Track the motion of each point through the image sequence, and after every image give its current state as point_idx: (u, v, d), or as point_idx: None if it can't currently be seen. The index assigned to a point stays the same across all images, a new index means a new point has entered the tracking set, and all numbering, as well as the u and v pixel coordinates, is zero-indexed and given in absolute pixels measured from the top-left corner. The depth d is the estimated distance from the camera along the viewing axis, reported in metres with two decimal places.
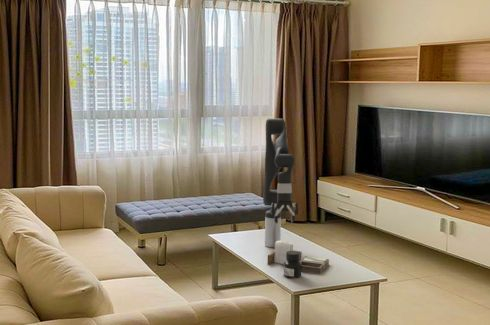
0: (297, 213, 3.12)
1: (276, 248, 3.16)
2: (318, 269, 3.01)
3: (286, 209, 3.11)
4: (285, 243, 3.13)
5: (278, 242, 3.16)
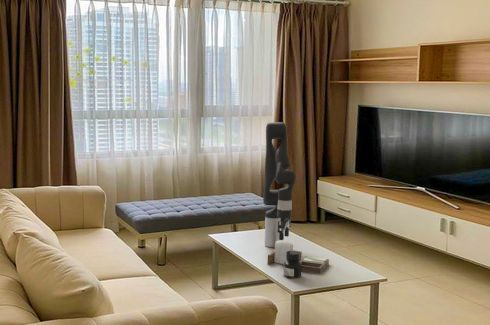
0: (290, 226, 3.20)
1: (276, 248, 3.16)
2: (318, 269, 3.01)
3: (286, 224, 3.14)
4: (285, 243, 3.13)
5: (278, 242, 3.16)
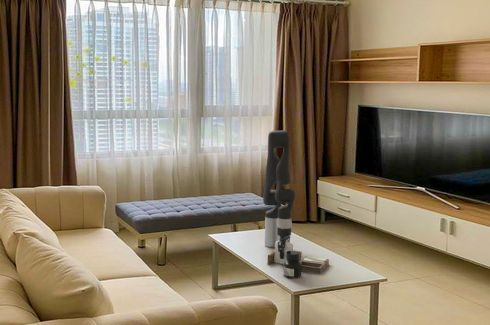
0: None
1: (276, 248, 3.16)
2: (318, 269, 3.01)
3: (286, 242, 3.15)
4: None
5: None
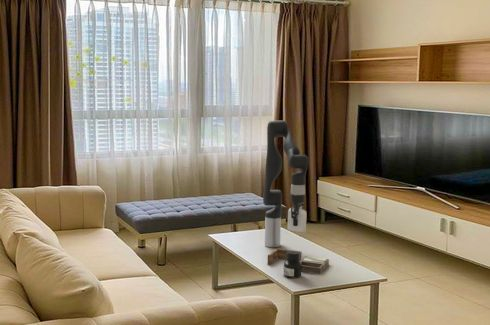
0: None
1: (289, 215, 3.12)
2: (318, 269, 3.01)
3: None
4: None
5: None
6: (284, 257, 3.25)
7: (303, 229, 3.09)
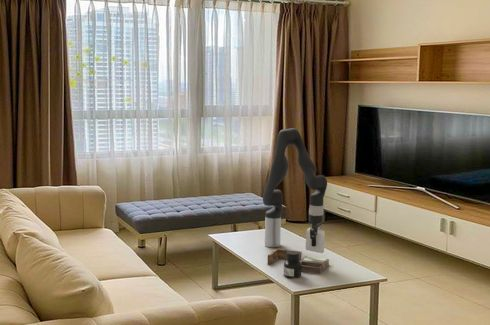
0: None
1: (308, 235, 3.13)
2: (318, 269, 3.01)
3: None
4: None
5: None
6: (284, 257, 3.25)
7: (322, 249, 3.10)
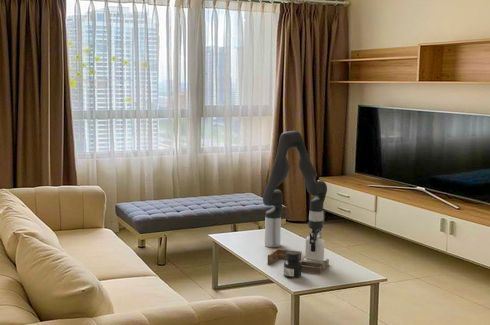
0: None
1: (307, 244, 3.13)
2: (318, 269, 3.01)
3: (317, 235, 3.13)
4: (317, 239, 3.10)
5: (309, 238, 3.13)
6: (284, 257, 3.25)
7: (321, 258, 3.10)
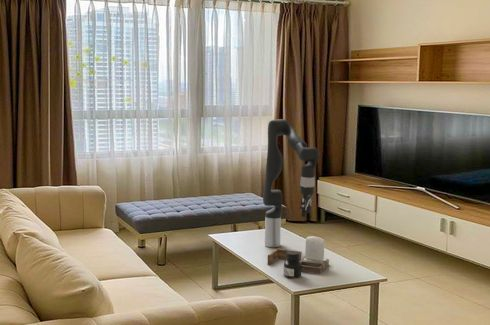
0: None
1: (307, 244, 3.13)
2: (318, 269, 3.01)
3: (308, 201, 3.16)
4: (317, 239, 3.10)
5: (309, 238, 3.13)
6: (284, 257, 3.25)
7: (321, 258, 3.10)
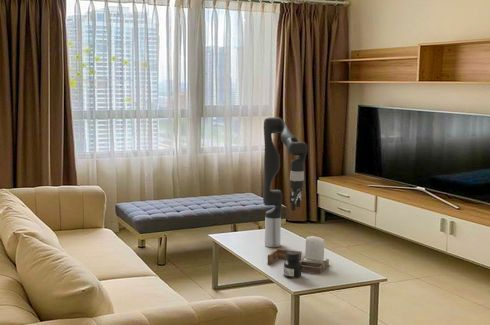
0: None
1: (307, 244, 3.13)
2: (318, 269, 3.01)
3: (298, 195, 3.20)
4: (317, 239, 3.10)
5: (309, 238, 3.13)
6: (284, 257, 3.25)
7: (321, 258, 3.10)
